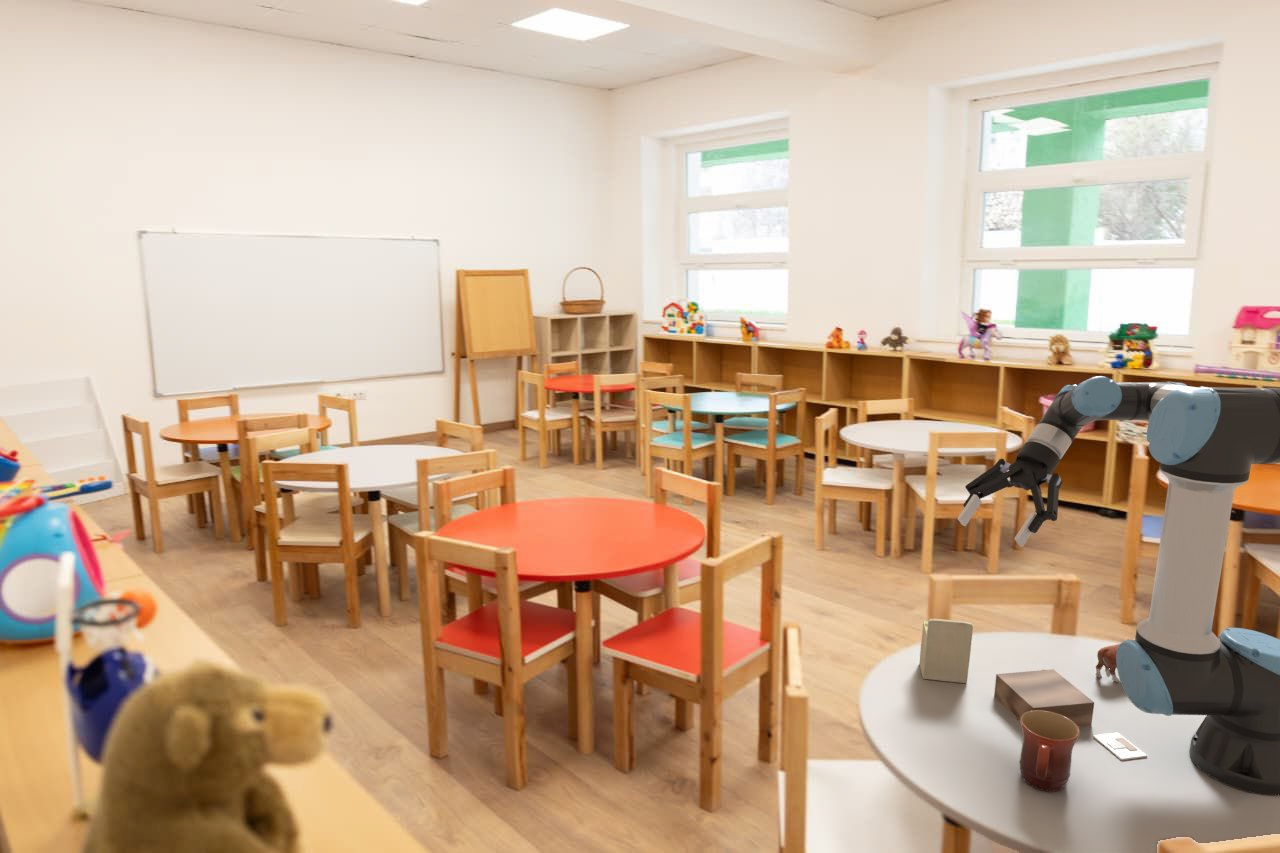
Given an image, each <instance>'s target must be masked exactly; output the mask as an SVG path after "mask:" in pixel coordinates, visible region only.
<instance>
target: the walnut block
mask: <svg viewBox="0 0 1280 853" xmlns="http://www.w3.org/2000/svg"><path fill="white" fill-rule="evenodd" d="M994 685H995V686H994V695H993V697H994V698H996V699H997V701H999V702H1000V703H1001V704H1002V706H1004V708H1006V709H1007V710H1008V711H1009V712H1010V713H1011V714H1012V715H1014V717H1015V719H1016V718H1017V720H1018V721H1019V722H1020V717H1021V715H1022V714H1023V713H1025V712H1028V711H1032V710H1044V711H1050V712H1054V713H1057V714H1060V715H1063V716H1065V717H1067V718H1068V719H1070V720H1072V721H1073V722H1074V723H1075V724H1076V725H1077V726H1080V727H1088V726H1092V724H1093V723H1092V722H1093V717H1094V708H1095V707H1094V706H1095V702H1094V701H1093V700H1092V699H1091V698H1090V697H1088V696H1087V695H1086V694H1085V693H1083V691H1081V690H1080V689H1078V688H1077V687H1076V686H1075V685H1074V684H1072V683H1071V682H1070V681H1069V680H1067V679H1066V678H1065V677H1063V675H1061V673H1059V672H1058V671H1056V670H1055V669H1042V670H1028V671H1017V672H1007V673H1006V672H1004V673H996V675H995V684H994Z"/></svg>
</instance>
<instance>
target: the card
mask: <svg viewBox="0 0 1280 853" xmlns="http://www.w3.org/2000/svg"><path fill="white" fill-rule="evenodd" d="M1092 738H1093V739H1095V740H1096V741H1097V742H1098V741H1099V742H1098V743H1100V744H1101V745H1102V746H1103V745H1104V746H1103V747H1105V748H1106V750H1108V751H1109V752H1111V753H1112V754H1113V755H1114V756H1116V758H1118V760H1120V761H1125V760H1127V761H1128V760H1133V759H1142V758H1147V757H1148V754H1147V753H1145V752H1144V751H1142V750H1141V749H1140V748H1139V747H1137V746H1136V745H1134V744H1133V743H1132V742H1131V741H1129V740H1128V739H1127V738H1126V737H1124V736H1123V735H1122V734H1121V733H1119V732H1117V731H1116V732H1111V733H1110V732H1109V733H1101V734H1100V733H1099V734H1094V735H1092Z"/></svg>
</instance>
